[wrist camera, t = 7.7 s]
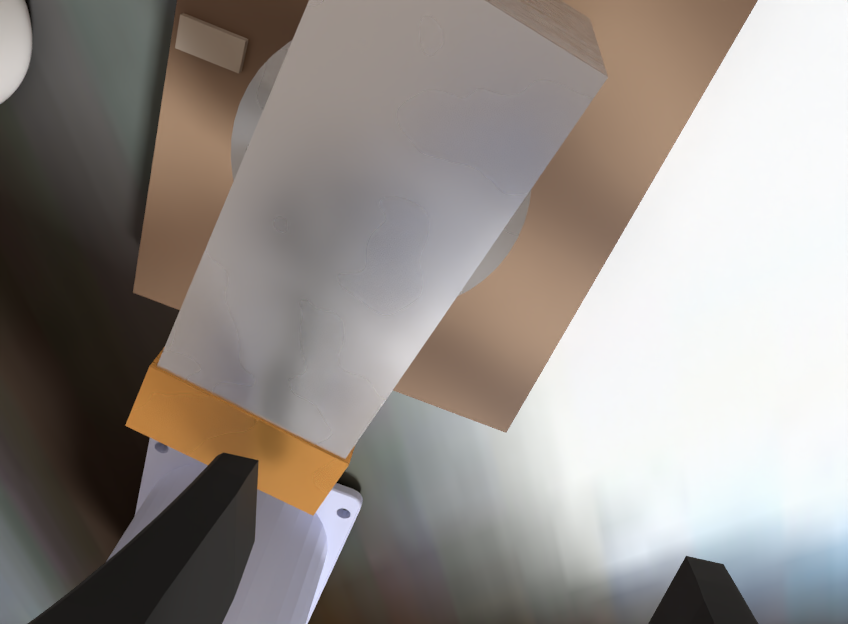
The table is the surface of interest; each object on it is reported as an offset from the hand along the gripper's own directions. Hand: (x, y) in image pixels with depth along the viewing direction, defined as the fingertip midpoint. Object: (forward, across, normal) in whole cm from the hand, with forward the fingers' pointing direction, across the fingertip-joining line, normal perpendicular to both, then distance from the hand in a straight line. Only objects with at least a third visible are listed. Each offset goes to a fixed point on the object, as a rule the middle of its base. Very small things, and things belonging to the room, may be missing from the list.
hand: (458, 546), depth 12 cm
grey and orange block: (+6, +3, -4) cm, 8 cm away
